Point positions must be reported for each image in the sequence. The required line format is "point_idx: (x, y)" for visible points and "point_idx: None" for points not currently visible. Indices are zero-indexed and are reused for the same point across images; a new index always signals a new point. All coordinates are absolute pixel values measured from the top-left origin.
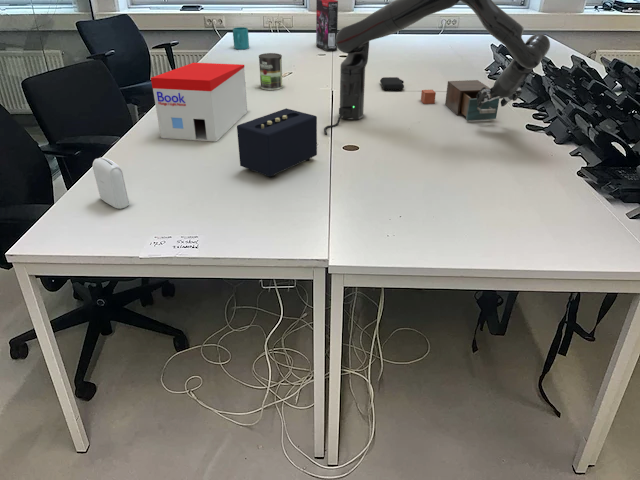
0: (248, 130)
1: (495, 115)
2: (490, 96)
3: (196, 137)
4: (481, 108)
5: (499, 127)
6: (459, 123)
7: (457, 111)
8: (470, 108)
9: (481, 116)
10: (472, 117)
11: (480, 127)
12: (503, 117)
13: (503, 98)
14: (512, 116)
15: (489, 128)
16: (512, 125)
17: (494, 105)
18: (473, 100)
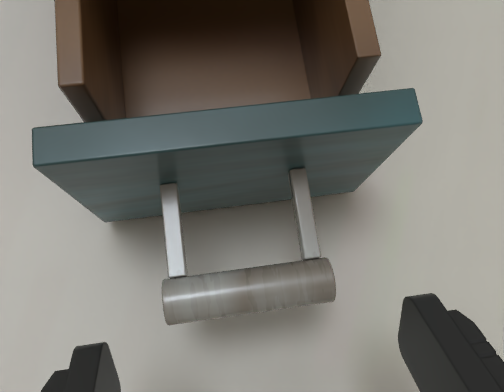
0: None
1: (351, 185)
2: (341, 6)
3: None
4: (213, 181)
5: (346, 350)
6: (42, 247)
7: None
8: (92, 193)
9: (226, 201)
10: (146, 212)
11: (188, 351)
12: (425, 110)
13: (453, 374)
14: (494, 90)
15: (257, 377)
16: (459, 298)
17: (351, 158)
18: (87, 165)
